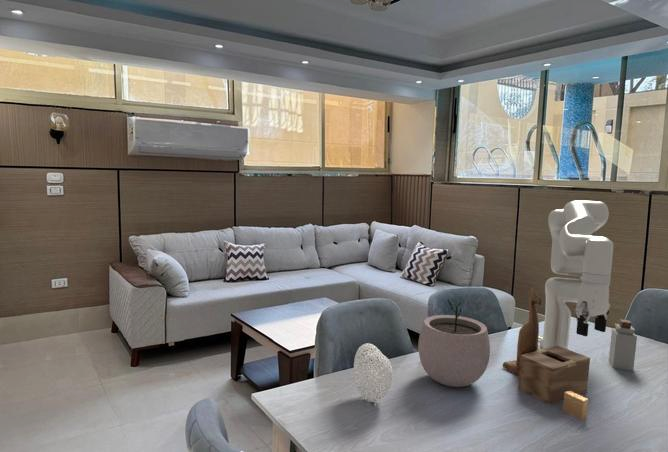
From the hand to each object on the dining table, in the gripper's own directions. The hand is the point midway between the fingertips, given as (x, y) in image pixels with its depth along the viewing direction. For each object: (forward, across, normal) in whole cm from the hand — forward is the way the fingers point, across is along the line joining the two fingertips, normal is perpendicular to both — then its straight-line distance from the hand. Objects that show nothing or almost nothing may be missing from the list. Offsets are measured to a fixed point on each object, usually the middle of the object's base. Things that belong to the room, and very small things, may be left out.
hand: (590, 332), depth 139 cm
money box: (+24, -2, -12) cm, 27 cm away
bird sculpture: (+24, -6, -26) cm, 36 cm away
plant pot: (+24, +25, -32) cm, 48 cm away
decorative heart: (+25, +58, -34) cm, 72 cm away
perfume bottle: (+23, -46, -12) cm, 53 cm away
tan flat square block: (+24, +7, +1) cm, 25 cm away
